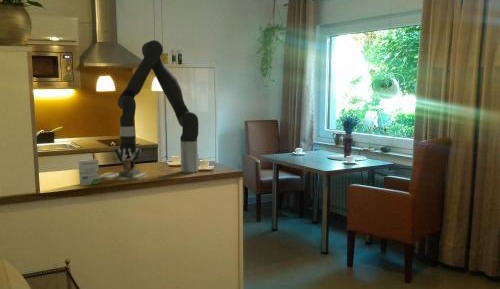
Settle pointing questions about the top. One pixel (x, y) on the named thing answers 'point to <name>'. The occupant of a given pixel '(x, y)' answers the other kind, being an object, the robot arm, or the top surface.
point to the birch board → (116, 177)
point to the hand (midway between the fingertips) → (128, 168)
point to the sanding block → (128, 169)
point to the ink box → (89, 172)
